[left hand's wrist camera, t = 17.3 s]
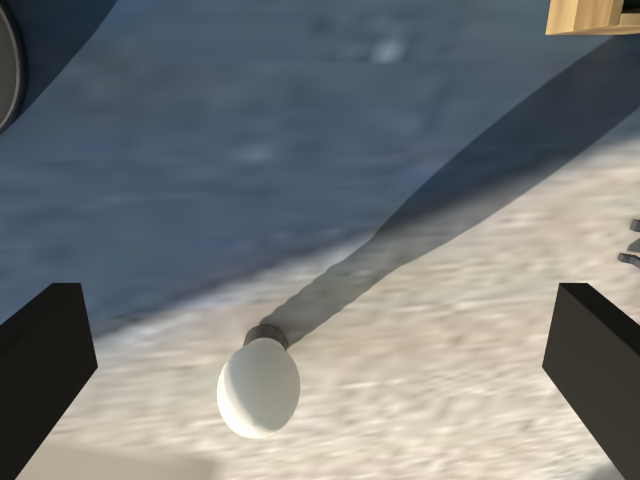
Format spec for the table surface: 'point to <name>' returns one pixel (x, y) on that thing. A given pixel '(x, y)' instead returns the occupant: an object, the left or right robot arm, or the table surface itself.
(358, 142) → the table surface
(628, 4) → the peg
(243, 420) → the light bulb
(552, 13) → the peg board
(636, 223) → the toy
